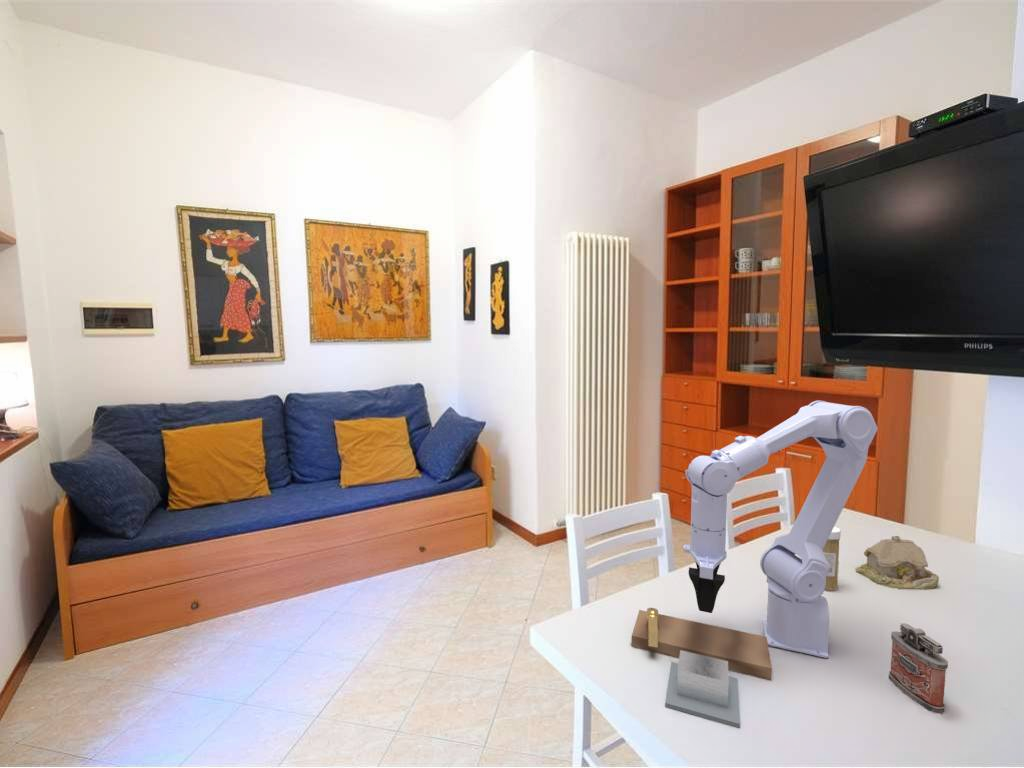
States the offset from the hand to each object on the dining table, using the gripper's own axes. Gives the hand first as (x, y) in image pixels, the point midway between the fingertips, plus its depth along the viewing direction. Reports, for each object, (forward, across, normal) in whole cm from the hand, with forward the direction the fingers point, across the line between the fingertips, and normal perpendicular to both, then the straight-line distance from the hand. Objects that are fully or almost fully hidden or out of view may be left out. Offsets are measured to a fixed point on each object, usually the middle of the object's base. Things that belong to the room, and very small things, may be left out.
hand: (706, 599), depth 84 cm
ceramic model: (+9, -44, +39) cm, 59 cm away
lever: (+6, +4, -9) cm, 11 cm away
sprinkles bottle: (+9, -33, +24) cm, 42 cm away
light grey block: (+8, +13, 0) cm, 15 cm away
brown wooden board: (+8, +1, -1) cm, 9 cm away
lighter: (+9, 0, +30) cm, 31 cm away
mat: (+8, +13, 0) cm, 15 cm away
